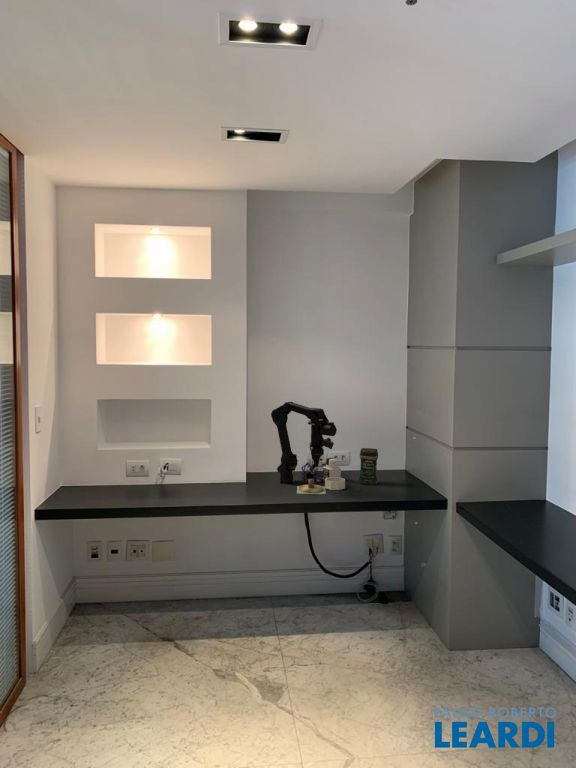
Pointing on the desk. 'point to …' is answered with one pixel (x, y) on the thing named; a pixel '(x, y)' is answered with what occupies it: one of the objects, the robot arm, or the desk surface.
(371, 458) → the coffee jar
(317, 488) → the lid
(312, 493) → the mat
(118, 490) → the desk surface
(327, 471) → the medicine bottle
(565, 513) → the desk surface
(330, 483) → the bowl
